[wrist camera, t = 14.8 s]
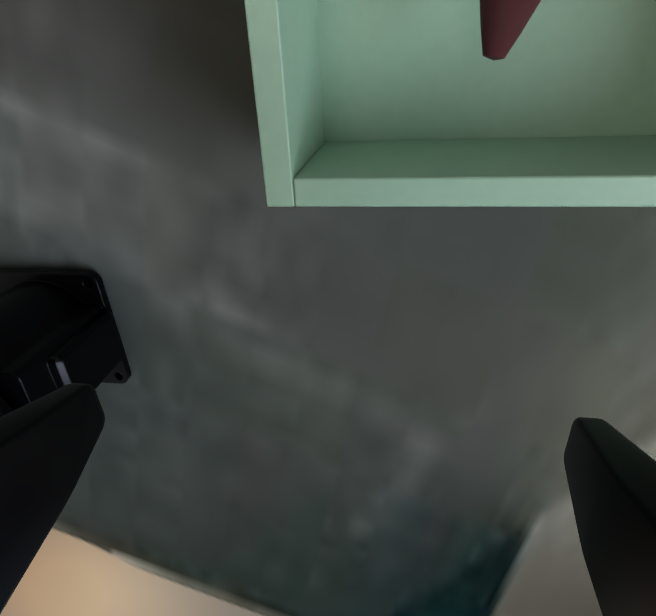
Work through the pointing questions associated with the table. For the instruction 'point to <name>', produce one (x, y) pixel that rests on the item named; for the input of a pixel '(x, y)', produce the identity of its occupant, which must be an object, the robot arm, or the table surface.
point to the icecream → (503, 24)
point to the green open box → (454, 104)
